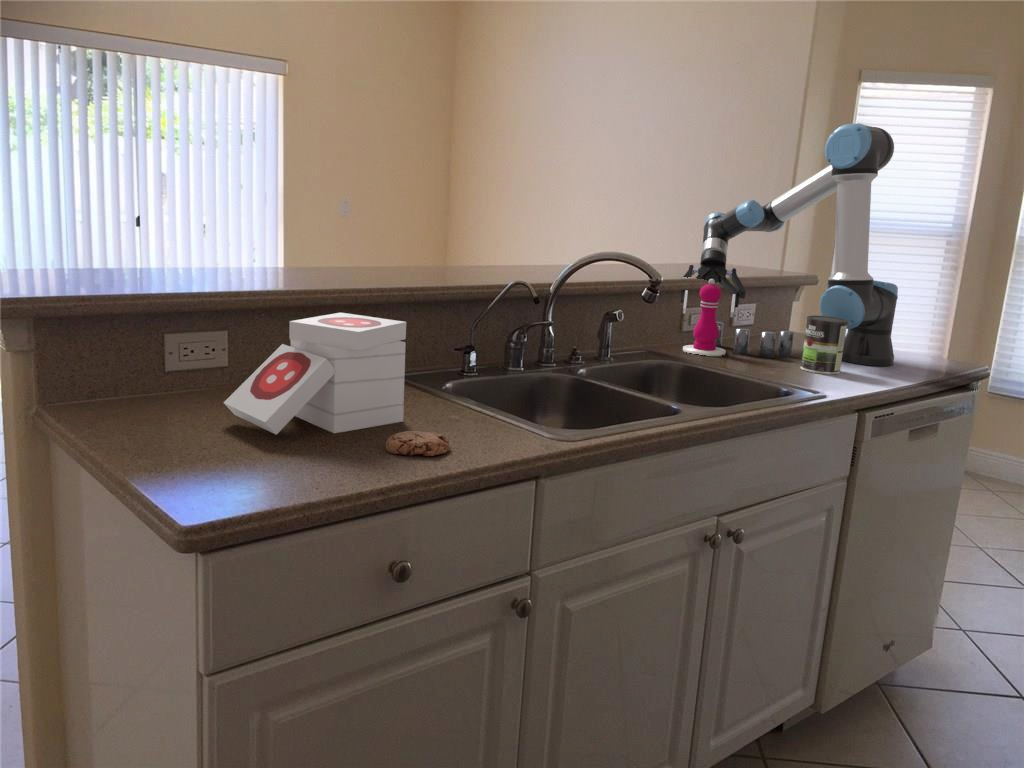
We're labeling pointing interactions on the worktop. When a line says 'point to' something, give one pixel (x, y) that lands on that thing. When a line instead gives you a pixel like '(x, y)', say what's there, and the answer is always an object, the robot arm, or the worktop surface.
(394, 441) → the cookie
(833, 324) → the coffee can
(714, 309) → the pepper mill
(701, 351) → the disc
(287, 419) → the pizza boxes
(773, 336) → the posts
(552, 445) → the worktop surface
